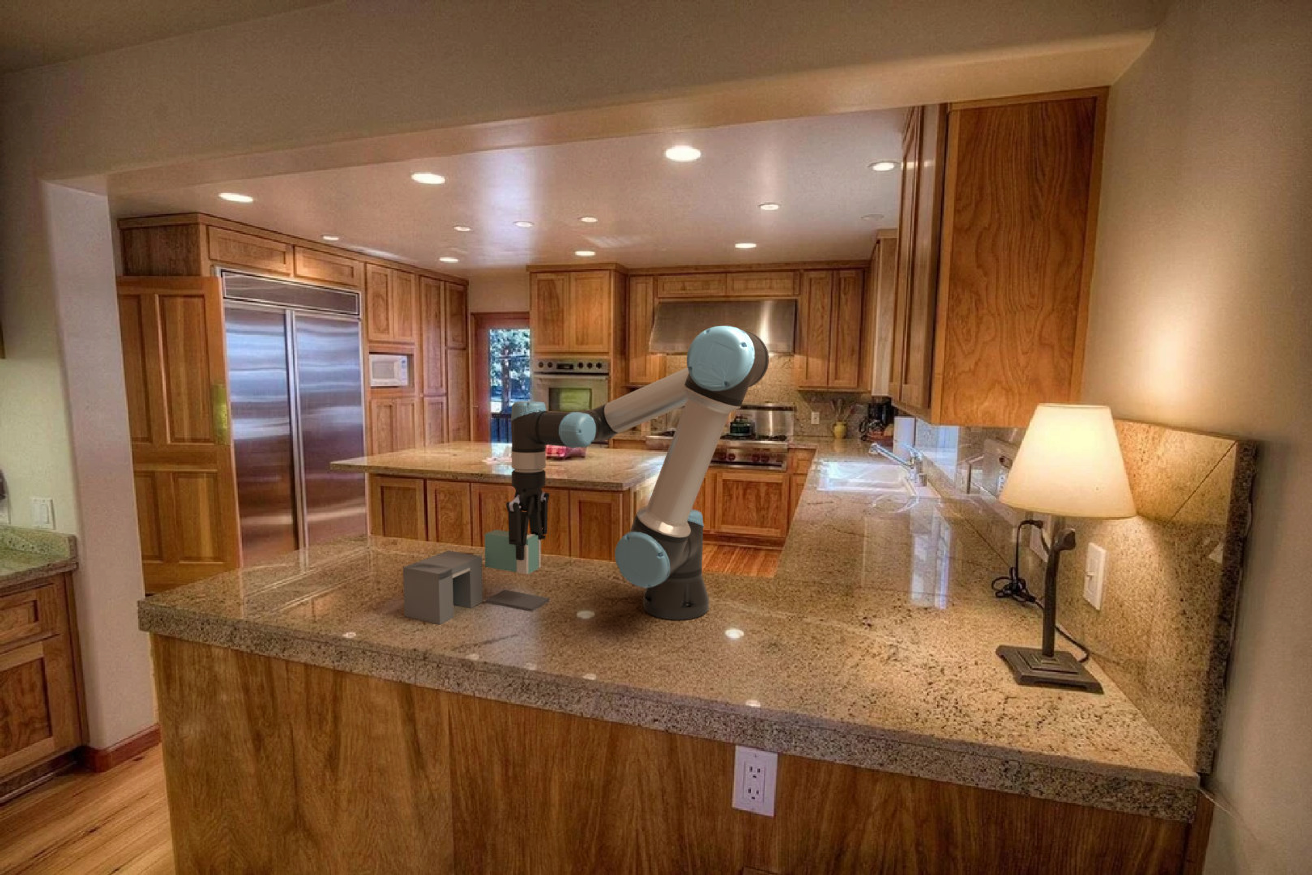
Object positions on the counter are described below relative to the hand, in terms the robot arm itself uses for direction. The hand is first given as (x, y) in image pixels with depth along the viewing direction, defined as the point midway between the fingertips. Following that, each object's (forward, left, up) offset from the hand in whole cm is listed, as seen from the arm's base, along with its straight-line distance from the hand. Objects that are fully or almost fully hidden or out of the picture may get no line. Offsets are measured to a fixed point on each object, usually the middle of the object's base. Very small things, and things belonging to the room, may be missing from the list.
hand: (528, 569), depth 132 cm
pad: (+3, 0, -8) cm, 9 cm away
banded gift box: (+5, 0, 0) cm, 5 cm away
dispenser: (+15, +11, -8) cm, 20 cm away
